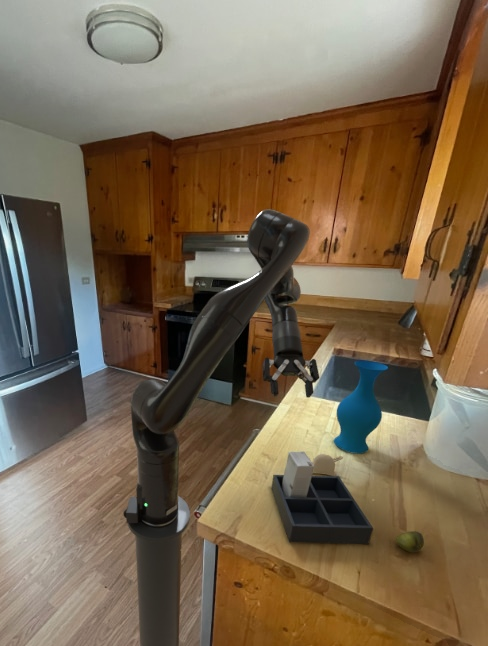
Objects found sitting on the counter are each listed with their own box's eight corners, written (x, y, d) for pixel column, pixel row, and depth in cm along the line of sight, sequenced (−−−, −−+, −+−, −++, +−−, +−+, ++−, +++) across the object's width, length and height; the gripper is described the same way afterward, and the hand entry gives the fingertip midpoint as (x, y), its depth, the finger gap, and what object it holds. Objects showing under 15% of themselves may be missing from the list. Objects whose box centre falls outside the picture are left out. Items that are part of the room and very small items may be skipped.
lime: (391, 547, 70) (397, 529, 68) (400, 536, 73) (407, 519, 71) (414, 562, 67) (421, 543, 65) (423, 550, 70) (430, 532, 68)
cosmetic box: (280, 490, 85) (286, 450, 80) (296, 489, 85) (304, 450, 81) (288, 507, 79) (296, 465, 75) (306, 506, 80) (315, 465, 75)
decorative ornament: (308, 464, 97) (311, 449, 95) (338, 469, 95) (342, 454, 93) (309, 473, 93) (313, 457, 91) (341, 478, 92) (345, 462, 90)
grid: (289, 542, 71) (292, 526, 69) (271, 488, 87) (273, 474, 85) (368, 544, 71) (373, 528, 69) (335, 490, 87) (339, 476, 85)
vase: (375, 460, 100) (400, 374, 89) (331, 451, 104) (350, 368, 93) (368, 440, 111) (390, 361, 100) (328, 433, 114) (345, 356, 104)
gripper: (264, 333, 88) (268, 389, 81) (317, 335, 88) (326, 391, 81) (258, 347, 95) (262, 400, 88) (307, 348, 95) (314, 401, 88)
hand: (292, 396), depth 85 cm, fingers open, 8 cm apart
